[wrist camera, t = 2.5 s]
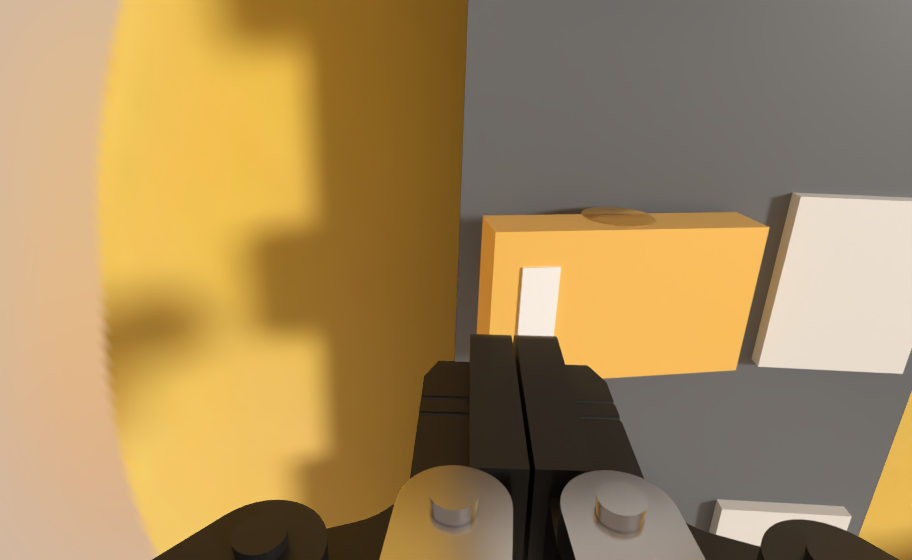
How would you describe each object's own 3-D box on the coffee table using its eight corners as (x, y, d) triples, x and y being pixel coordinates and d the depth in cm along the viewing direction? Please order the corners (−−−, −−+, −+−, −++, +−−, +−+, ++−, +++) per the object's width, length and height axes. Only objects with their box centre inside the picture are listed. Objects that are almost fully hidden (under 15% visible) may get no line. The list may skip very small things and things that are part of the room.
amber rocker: (721, 205, 15) (771, 228, 13) (695, 335, 16) (737, 371, 14) (477, 208, 14) (496, 233, 12) (470, 346, 15) (486, 387, 13)
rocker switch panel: (1033, -371, 13) (1280, -554, 9) (755, 578, 24) (811, 691, 20) (487, -382, 14) (489, -562, 9) (449, 560, 24) (442, 667, 20)
